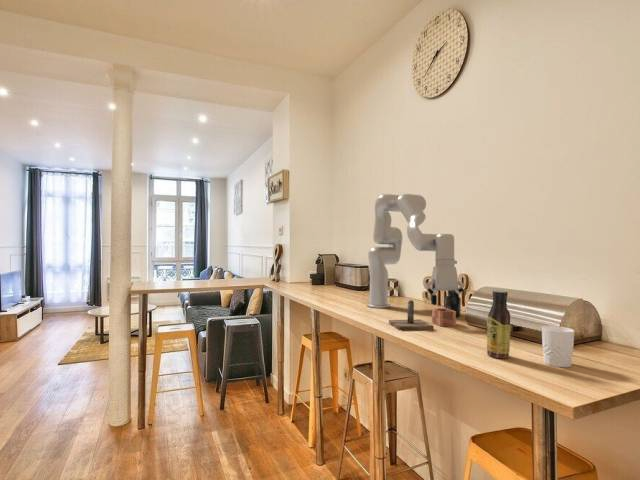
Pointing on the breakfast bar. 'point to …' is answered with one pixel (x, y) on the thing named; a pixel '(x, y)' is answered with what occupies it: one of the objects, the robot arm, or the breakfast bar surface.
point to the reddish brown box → (444, 317)
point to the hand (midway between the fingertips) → (444, 304)
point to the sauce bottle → (498, 326)
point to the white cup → (557, 345)
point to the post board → (411, 326)
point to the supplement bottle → (451, 305)
